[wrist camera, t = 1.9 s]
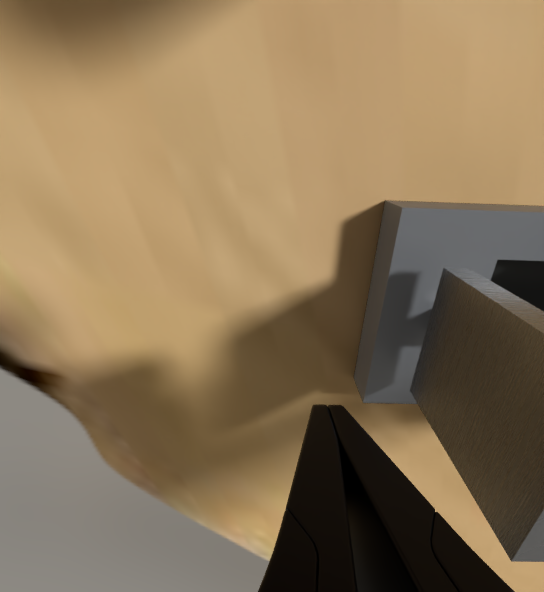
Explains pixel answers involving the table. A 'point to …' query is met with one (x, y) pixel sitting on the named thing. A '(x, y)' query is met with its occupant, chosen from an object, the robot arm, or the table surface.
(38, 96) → the table surface
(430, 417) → the sled
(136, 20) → the table surface
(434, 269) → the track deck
